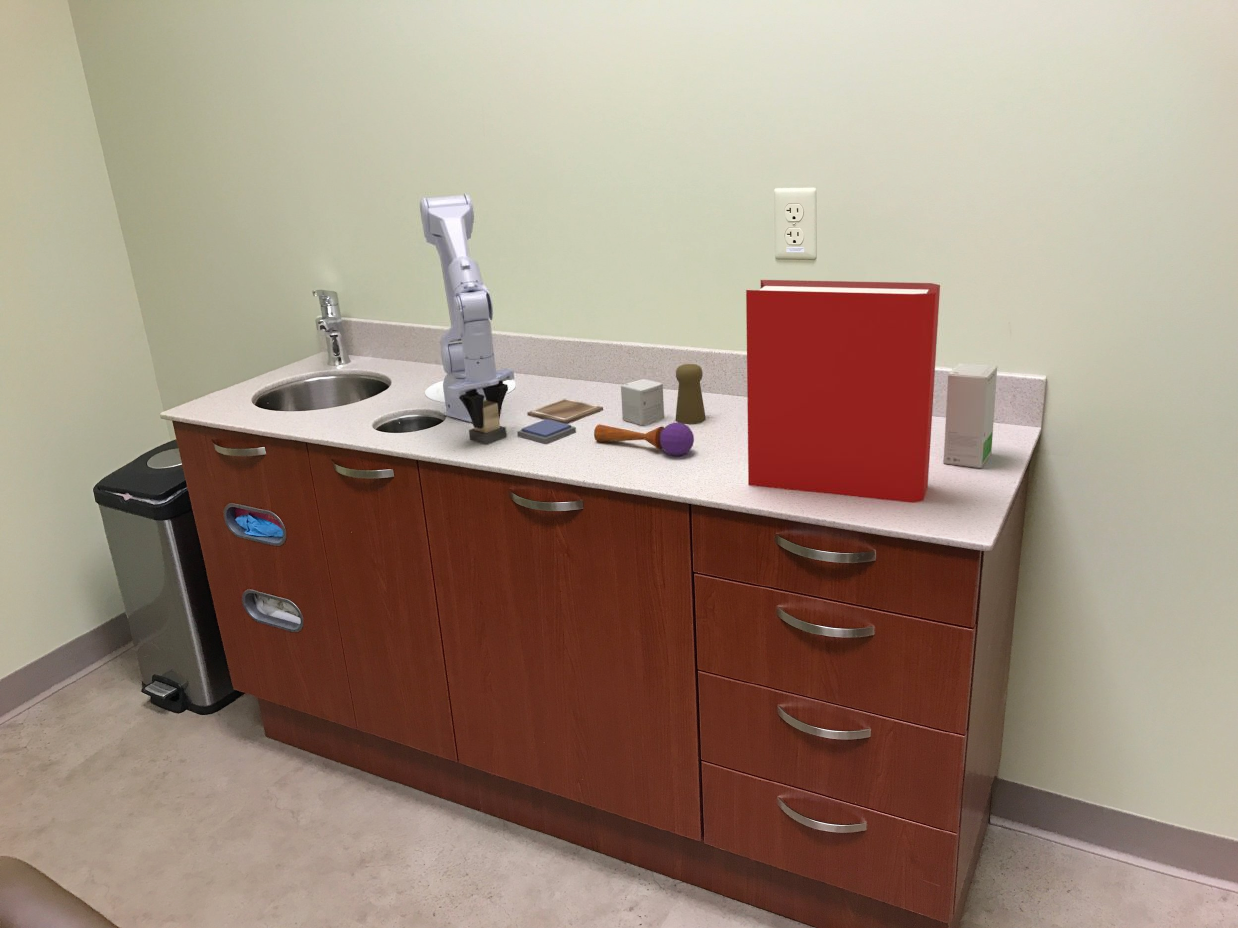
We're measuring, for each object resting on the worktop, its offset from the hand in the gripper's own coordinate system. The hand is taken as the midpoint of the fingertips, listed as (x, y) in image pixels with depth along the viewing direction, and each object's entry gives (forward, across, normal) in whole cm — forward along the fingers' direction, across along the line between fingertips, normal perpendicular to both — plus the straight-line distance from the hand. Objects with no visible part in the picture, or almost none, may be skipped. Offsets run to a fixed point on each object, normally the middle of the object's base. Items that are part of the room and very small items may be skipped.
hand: (486, 424), depth 185 cm
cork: (+3, +30, -26) cm, 40 cm away
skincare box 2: (+3, +39, -78) cm, 87 cm away
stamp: (+3, 0, 0) cm, 3 cm away
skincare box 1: (+3, +25, -18) cm, 31 cm away
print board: (+3, +20, -2) cm, 20 cm away
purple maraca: (+3, +13, -29) cm, 32 cm away
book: (+3, +17, -66) cm, 68 cm away
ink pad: (+3, +8, -8) cm, 12 cm away
